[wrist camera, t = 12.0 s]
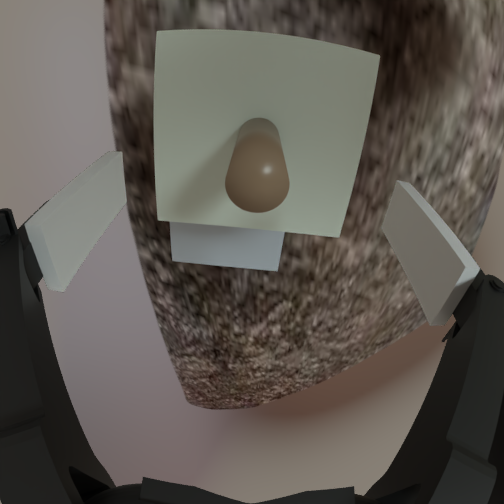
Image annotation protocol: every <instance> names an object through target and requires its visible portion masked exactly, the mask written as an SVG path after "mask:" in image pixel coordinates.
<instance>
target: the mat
mask: <svg viewBox="0 0 504 504" xmlns="http://www.w3.org/2000/svg"><path fill="white" fill-rule="evenodd" d="M284 233H285V232H281V231H271V230H261V229H251V228H240V227H229V226H218V225H207V224H195V223H183V222H170V237H171V251H172V261H177V262H187V263H197V264H207V265H217V266H227V267H238V268H248V269H259V270H270V271H277V270H278V265H279V260H280V255H281V249H282V244H283V238H284Z"/></svg>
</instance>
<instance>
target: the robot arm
mask: <svg viewBox="0 0 504 504" xmlns="http://www.w3.org/2000/svg"><path fill="white" fill-rule="evenodd" d="M126 203H127V198H126V189H125V179H124V168H123V156H122V152H107V153H106V154H105V155H104V156H102V157H101V158H99V159H98V160H97V161H96V162H94V163H93V164H92V165H90V166H89V167H88V168H87V169H85V170H84V171H83V172H82V173H80V174H79V175H78V176H77V177H75V178H74V179H73V180H72V181H71V182H70V183H68V184H67V185H66V186H65V187H64V188H63V189H62V190H60V191H59V192H58V193H57V194H56V195H55V196H54V197H53V198H51V199H50V200H48V201H47V202H45V203H44V204H43V205H42V206H41V207H40V208H39V210H37V211H36V212H35V213H34V215H32V216H31V217H30V218H29V219H28V220H27V221H26V222H25V223H24V224H23V225H22V226H21V227H20V228H19V229H18V230H17V227H16V224H15V220H14V217H13V214H12V211H11V209H8V208H5V209H0V500H1V503H2V504H250V503H244V502H241V501H237V500H233V499H230V498H227V497H224V496H221V495H217V494H214V493H212V492H209V491H206V490H203V489H200V488H197V487H195V486H188V485H182V484H176V483H169V482H165V481H160V480H155V479H150V478H146V477H143V481H142V484H129V485H122V486H118V487H116V486H115V484H114V482H113V481H112V479H111V478H110V476H109V474H108V473H107V471H106V470H105V468H104V467H103V466H102V465H101V463H100V462H99V461H98V459H97V458H96V456H95V455H94V453H93V451H92V449H91V447H90V445H89V443H88V441H87V439H86V437H85V434H84V432H83V430H82V427H81V425H80V423H79V420H78V418H77V415H76V413H75V410H74V408H73V405H72V403H71V400H70V397H69V395H68V392H67V389H66V386H65V383H64V380H63V377H62V374H61V371H60V367H59V364H58V361H57V357H56V354H55V350H54V347H53V343H52V340H51V335H50V331H49V327H48V323H47V318H46V314H45V309H44V304H43V299H42V294H41V290H40V288H39V285H38V283H39V282H40V280H41V279H42V277H43V278H44V281H45V283H46V286H47V288H48V289H49V290H54V291H59V292H64V291H65V290H66V288H67V287H68V285H69V283H70V282H71V280H72V279H73V277H74V275H75V274H76V272H77V271H78V269H79V268H80V266H81V265H82V263H83V262H84V261H85V259H86V258H87V256H88V254H89V253H90V252H91V250H92V249H93V247H94V246H95V245H96V243H97V242H98V240H99V239H100V238H101V236H102V235H103V233H104V232H105V231H106V229H107V228H108V227H109V225H110V224H111V223H112V221H113V220H114V219H115V217H116V216H117V215H118V213H119V212H120V211H121V210H122V208H123V207H124V206H125V204H126ZM381 229H382V231H383V232H384V234H385V236H386V238H387V240H388V241H389V243H390V245H391V247H392V249H393V250H394V252H395V254H396V256H397V258H398V260H399V262H400V264H401V266H402V268H403V270H404V272H405V274H406V276H407V278H408V280H409V282H410V284H411V286H412V288H413V290H414V292H415V294H416V296H417V298H418V300H419V302H420V305H421V307H422V309H423V311H424V313H425V316H426V318H427V320H428V322H429V325H430V326H432V325H445V324H446V322H447V321H448V319H449V318H450V317H451V315H452V314H453V315H454V317H455V319H456V322H455V323H454V325H453V326H452V328H451V329H450V330H449V332H448V333H447V334H446V336H445V337H444V338H443V340H442V342H444V341H445V340H446V339H448V340H447V343H446V346H445V349H444V352H443V354H442V357H441V361H440V363H439V365H438V368H437V371H436V373H435V376H434V378H433V381H432V383H431V386H430V388H429V391H428V393H427V395H426V398H425V400H424V402H423V404H422V406H421V409H420V411H419V413H418V415H417V417H416V419H415V421H414V423H413V425H412V427H411V429H410V431H409V433H408V435H407V437H406V439H405V441H404V442H403V444H402V446H401V448H400V450H399V452H398V453H397V455H396V457H395V458H394V460H393V462H392V464H391V465H390V467H389V469H388V470H387V472H386V473H385V474H384V475H383V476H382V477H381V478H380V479H379V480H378V481H377V482H376V483H375V484H374V485H373V486H372V487H371V488H370V489H369V490H368V492H367V493H366V494H365V495H364V496H362V495H357V494H354V486H353V487H346V488H337V489H328V490H316V491H305V492H301V493H298V494H294V495H290V496H286V497H282V498H278V499H273V500H269V501H264V502H259V503H252V504H504V283H503V282H502V281H501V280H499V279H498V278H497V277H495V276H493V275H485V274H484V273H483V271H482V270H481V268H480V267H479V266H478V264H477V263H476V261H475V260H474V259H473V257H471V255H470V253H469V252H468V251H467V249H466V248H465V247H464V245H463V244H462V243H461V242H460V241H459V239H458V238H457V237H456V236H455V234H454V233H453V232H452V231H451V229H450V228H449V227H448V226H447V225H446V223H445V222H444V221H443V220H442V219H441V217H440V216H439V215H438V214H437V213H436V212H435V210H434V209H433V208H432V207H431V206H430V205H429V204H428V203H427V201H426V200H425V199H424V198H423V197H422V196H421V195H420V194H419V193H418V192H417V190H416V189H415V188H414V187H413V186H412V185H411V184H410V183H407V182H403V181H398V180H397V181H396V184H395V187H394V190H393V194H392V197H391V200H390V203H389V206H388V209H387V212H386V215H385V218H384V221H383V224H382V226H381Z"/></svg>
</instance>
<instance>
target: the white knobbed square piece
mask: <svg viewBox="0 0 504 504" xmlns="http://www.w3.org/2000/svg"><path fill="white" fill-rule="evenodd" d="M379 61H380V55H377V54H373V53H370V52H366V51H363V50H359V49H355V48H351V47H347V46H343V45H339V44H334V43H329V42H324V41H319V40H314V39H308V38H303V37H296V36H289V35H282V34H274V33H265V32H254V31H240V30H213V29H193V30H167V31H157V36H156V52H155V72H154V163H155V185H156V202H157V216H158V221H170V222H183V223H195V224H207V225H218V226H229V227H240V228H251V229H261V230H271V231H281V232H291V233H301V234H310V235H320V236H329V237H338V238H339V236H340V232H341V229H342V225H343V222H344V218H345V215H346V211H347V208H348V204H349V200H350V196H351V193H352V189H353V185H354V181H355V177H356V173H357V169H358V165H359V161H360V157H361V152H362V148H363V144H364V139H365V135H366V130H367V125H368V121H369V116H370V111H371V106H372V101H373V95H374V90H375V85H376V79H377V73H378V67H379Z"/></svg>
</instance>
